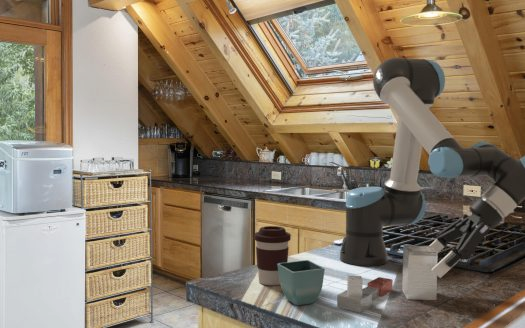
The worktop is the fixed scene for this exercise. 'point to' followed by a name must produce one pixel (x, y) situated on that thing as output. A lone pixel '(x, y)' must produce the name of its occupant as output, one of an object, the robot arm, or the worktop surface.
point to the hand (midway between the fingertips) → (428, 266)
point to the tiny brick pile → (362, 293)
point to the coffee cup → (271, 252)
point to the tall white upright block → (419, 272)
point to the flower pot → (301, 281)
